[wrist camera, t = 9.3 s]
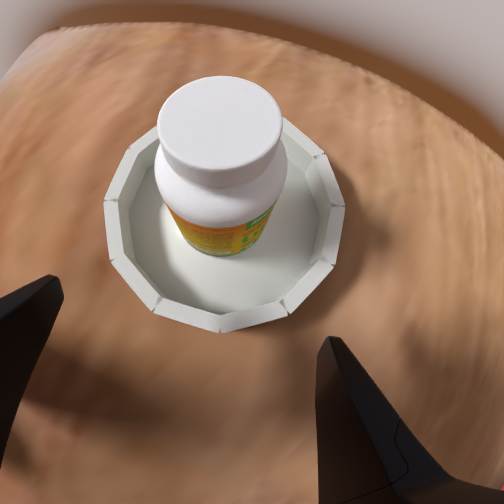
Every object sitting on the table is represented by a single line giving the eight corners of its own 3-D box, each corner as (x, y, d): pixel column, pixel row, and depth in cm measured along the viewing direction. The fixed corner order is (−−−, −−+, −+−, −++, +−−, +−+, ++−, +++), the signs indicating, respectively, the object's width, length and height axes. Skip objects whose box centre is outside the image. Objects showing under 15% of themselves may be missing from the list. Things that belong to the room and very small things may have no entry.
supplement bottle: (249, 271, 17) (279, 220, 7) (165, 242, 17) (104, 164, 7) (275, 192, 18) (320, 88, 9) (197, 167, 18) (181, 52, 9)
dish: (352, 294, 18) (374, 290, 15) (142, 349, 16) (127, 355, 13) (291, 117, 20) (300, 93, 18) (113, 154, 19) (99, 133, 16)
